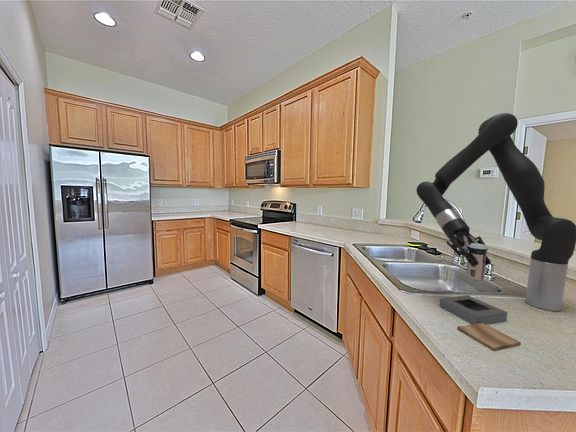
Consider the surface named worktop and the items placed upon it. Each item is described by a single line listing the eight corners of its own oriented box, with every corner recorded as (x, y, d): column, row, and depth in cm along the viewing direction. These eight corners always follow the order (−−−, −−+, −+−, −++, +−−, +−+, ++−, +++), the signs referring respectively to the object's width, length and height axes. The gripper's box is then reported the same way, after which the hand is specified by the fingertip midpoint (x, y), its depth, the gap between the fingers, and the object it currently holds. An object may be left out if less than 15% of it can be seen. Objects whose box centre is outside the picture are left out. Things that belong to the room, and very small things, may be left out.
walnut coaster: (482, 325, 74) (482, 322, 74) (520, 345, 64) (520, 342, 64) (457, 329, 71) (457, 326, 71) (493, 350, 62) (493, 347, 62)
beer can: (486, 282, 77) (490, 246, 76) (470, 280, 78) (473, 245, 77) (478, 277, 82) (481, 243, 81) (463, 275, 83) (466, 242, 82)
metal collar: (467, 302, 89) (467, 295, 89) (506, 321, 76) (507, 312, 76) (439, 306, 86) (440, 298, 85) (476, 326, 73) (477, 316, 73)
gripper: (443, 217, 83) (474, 260, 73) (474, 217, 87) (508, 257, 76) (429, 230, 89) (456, 271, 79) (459, 229, 92) (489, 268, 82)
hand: (482, 264), depth 78 cm, fingers closed on beer can, 4 cm apart
